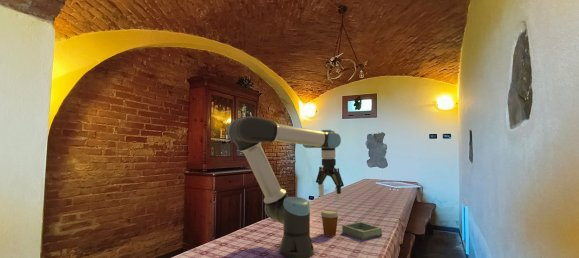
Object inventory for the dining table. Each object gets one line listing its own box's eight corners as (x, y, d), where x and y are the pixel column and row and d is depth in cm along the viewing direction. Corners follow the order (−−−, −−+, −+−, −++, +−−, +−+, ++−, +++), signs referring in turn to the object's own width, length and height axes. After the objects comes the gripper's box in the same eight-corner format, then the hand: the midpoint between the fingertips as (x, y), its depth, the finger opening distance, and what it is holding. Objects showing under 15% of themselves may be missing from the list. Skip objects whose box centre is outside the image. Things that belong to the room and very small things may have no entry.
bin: (362, 240, 147) (362, 232, 147) (342, 232, 160) (342, 225, 160) (381, 235, 154) (381, 228, 155) (360, 228, 167) (360, 221, 167)
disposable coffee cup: (338, 237, 150) (338, 214, 151) (320, 236, 152) (319, 213, 153) (339, 232, 160) (339, 210, 161) (321, 231, 162) (321, 209, 162)
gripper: (350, 158, 150) (351, 200, 149) (319, 157, 171) (320, 194, 170) (339, 159, 146) (340, 202, 145) (309, 157, 167) (310, 195, 166)
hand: (329, 198), depth 157 cm, fingers open, 13 cm apart
